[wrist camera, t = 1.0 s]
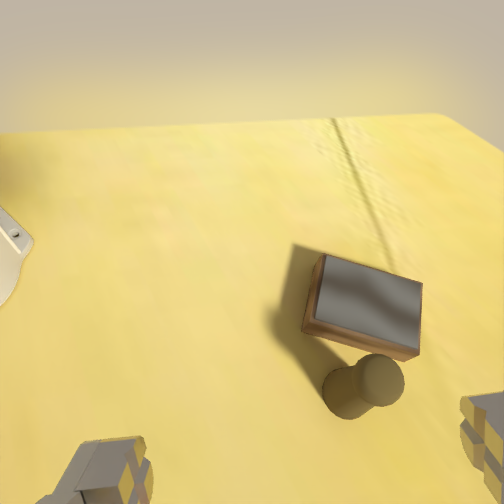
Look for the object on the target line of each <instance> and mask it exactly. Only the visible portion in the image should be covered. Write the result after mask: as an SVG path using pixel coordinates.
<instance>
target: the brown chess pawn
mask: <svg viewBox="0 0 504 504" xmlns="http://www.w3.org/2000/svg"><path fill="white" fill-rule="evenodd" d="M404 385H405V383H404V376H403V373H402V371H401V369H400V367H399V366H398V365H397V363H396V362H395V361H394V360H392V359H391V358H390V357H388V356H385V355H383V354H369V355H366V356H364V357H363V358H361V359H360V360H358V362H357V363H356V365H355V366H350V367H345V368H341V369H337V370H334V371H332V372H331V373H330V374H328V376H327V377H326V379H325V381H324V384H323V397H324V400H325V403H326V405H327V407H328V408H329V410H330V411H331V412H332V413H334V414H335V415H336V416H338V417H340V418H342V419H349V420H352V419H356V418H359V417H360V416H361V415H363V414H364V413H366V412H367V411H368V410H370V409H371V408H373V407H374V406H380V407H384V406H387V405H391V404H393V403H394V402H396V401H397V400H398V399H399V398H400V396H401V395H402V393H403V390H404Z"/></svg>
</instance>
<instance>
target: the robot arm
mask: <svg viewBox="0 0 504 504" xmlns="http://www.w3.org/2000/svg"><path fill="white" fill-rule="evenodd" d="M16 235H19V236H18V237H16V238H14V237H15V236H16ZM33 243H34V240H33V238H32V237H31V236H30V235H29V234H28V233H27V232H26V231H25V230H24V229H23V228H22V227H21V226H20V225H19V224H18V223H17V222H16V221H15V220H14V219H13V218H12V217H11V216H10V215H9V214H8V213H6V212H5V211H4V210H3V209H2V208H1V207H0V306H1V305H2V304H3V303H4V302H5V301H6V299H7V298H8V297H9V296H10V294H11V293H12V291H13V289H14V287H15V285H16V283H17V281H18V278H19V274H20V269H21V264H22V262H23V259H24V258H25V257H26V255H27V254H28V253H29V251H30V250H31V248H32V246H33ZM460 411H461V412H462V414H463V415H464V416H465V419H464V421H463V422H462V423H461V425H460V437H461V441H462V445H463V448H464V451H465V453H466V455H467V457H468V459H469V460H470V462H471V463H472V465H473V466H474V467H475V468H477V469H479V470H480V471H482V472H484V483H485V485H486V486H487V488H488V489H489V491H490V492H491V494H492V495H493V497H494V498H495V500H496V501H497V503H498V504H504V391H500V392H493V393H485V394H477V395H469V396H462V398H461V400H460ZM145 451H146V445H145V442H144V438H143V437H141V436H130V437H120V438H110V439H103V440H93V441H85V442H83V443H82V444H80V446H79V447H78V449H77V451H76V453H75V454H74V456H73V458H72V460H71V461H70V463H69V465H68V467H67V469H66V470H65V472H64V474H63V476H62V477H61V479H60V481H59V483H58V484H57V486H56V488H55V490H54V491H53V493H52V495H45V496H44V497H43V498H42V499H40V500H39V501H38V502H37V503H35V504H149V503H150V500H151V496H152V492H153V470H152V466H151V462H150V461H149V460H147V459H146V458H145V457H144V454H145Z"/></svg>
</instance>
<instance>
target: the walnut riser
mask: <svg viewBox="0 0 504 504" xmlns="http://www.w3.org/2000/svg"><path fill="white" fill-rule="evenodd" d="M422 287H423V283H421V282H418V281H414V280H411V279H408V278H404V277H401V276H398V275H394V274H391V273H388V272H384V271H381V270H378V269H374V268H371V267H368V266H364V265H361V264H358V263H354V262H351V261H348V260H344V259H341V258H337V257H334V256H331V255H327V254H324V253H323V254H322V255H321V257H320V258H319V260H318V261H317V263H316V264H315V266H314V271H313V276H312V281H311V286H310V290H309V295H308V300H307V305H306V310H305V315H304V320H303V325H302V330H301V332H304V333H308V334H311V335H315V336H318V337H321V338H325V339H328V340H331V341H335V342H338V343H341V344H345V345H348V346H351V347H355V348H358V349H361V350H365V351H368V352H371V353H375V354H383V355H385V356H388V357H390V358H392V359H395V360H398V361H402V362H405V361H407V360H410V359H412V358H414V357H416V356H418V355H420V333H421V310H422Z"/></svg>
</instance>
